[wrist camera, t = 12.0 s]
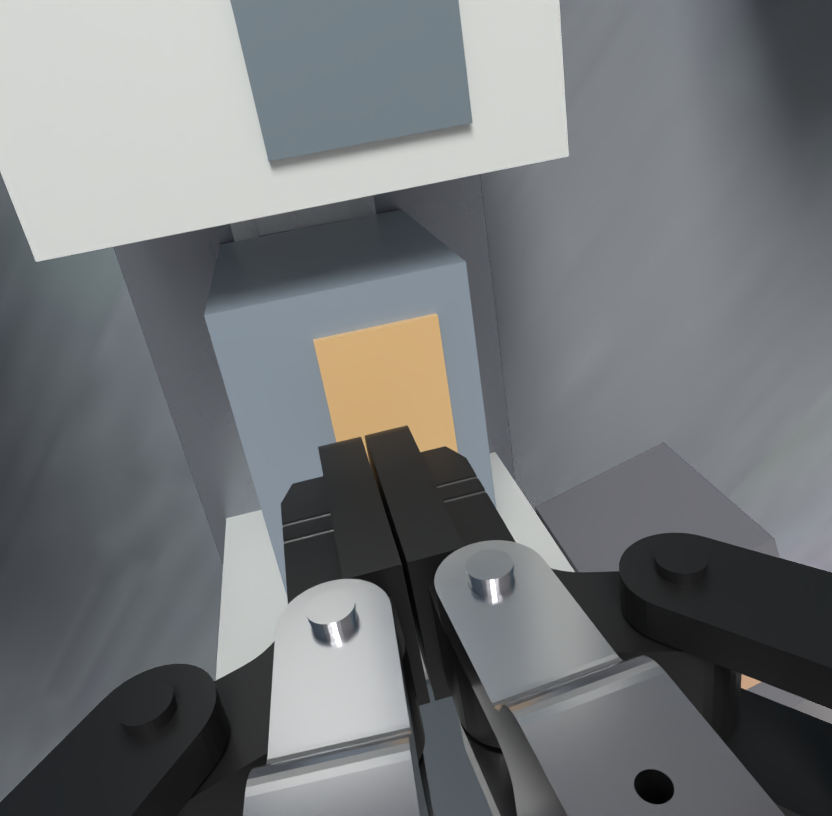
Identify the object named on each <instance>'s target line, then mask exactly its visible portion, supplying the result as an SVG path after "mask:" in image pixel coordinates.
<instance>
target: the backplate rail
mask: <svg viewBox="0 0 832 816" xmlns="http://www.w3.org/2000/svg"><path fill="white" fill-rule="evenodd" d="M400 209H402V210H403V211H404V212H406V213H407V214H408V215H409V216H411V217H412V218H413V219H414V220H415V221H417V222H418V223H419V224H420V225H422V226H423V227H424V228H425V229H426V230H428V231H429V232H430V233H431V234H433V235H434V236H435V237H436V238H438V239H439V240H440V241H441V242H442V243H444V244H445V245H446V246H447V247H449V248H450V249H451V250H452V251H453V252H455V253H456V254H457V255H458V256H460V257H461V258H462V259H463V260H465V261H466V267H467V275H468V283H469V291H470V299H471V307H472V315H473V323H474V331H475V339H476V348H477V356H478V364H479V372H480V380H481V388H482V396H483V404H484V412H485V420H486V429H487V437H488V445H489V453H493V452H496V454H497V455H498V457H499V458H500V460H501V461H502V463H503V464H504V466H505V467H506V469H507V470H508V472H509V473H510V475H511V476H512V478H513V479H514V481H515V476H514V467H513V458H512V450H511V441H510V432H509V423H508V415H507V406H506V397H505V389H504V380H503V371H502V362H501V354H500V345H499V336H498V327H497V319H496V310H495V301H494V293H493V284H492V275H491V266H490V258H489V249H488V240H487V232H486V223H485V214H484V205H483V197H482V188H481V179H480V174H477V175H472V176H467V177H462V178H457V179H452V180H447V181H442V182H437V183H432V184H427V185H422V186H417V187H412V188H407V189H402V190H397V191H391V192H386V193H381V194H376V195H371V196H366V197H361V198H356V199H351V200H346V201H341V202H336V203H331V204H326V205H321V206H316V207H311V208H306V209H301V210H296V211H291V212H285V213H280V214H275V215H270V216H265V217H260V218H255V219H250V220H245V221H240V222H235V223H230V224H225V225H220V226H215V227H210V228H205V229H200V230H195V231H190V232H185V233H179V234H174V235H169V236H164V237H159V238H154V239H149V240H144V241H139V242H134V243H129V244H124V245H119V246H114V250H115V253H116V256H117V259H118V261H119V264H120V267H121V270H122V273H123V276H124V279H125V282H126V285H127V287H128V290H129V293H130V296H131V299H132V302H133V305H134V308H135V311H136V314H137V316H138V319H139V322H140V325H141V328H142V331H143V334H144V337H145V340H146V343H147V345H148V348H149V351H150V354H151V357H152V360H153V363H154V366H155V369H156V372H157V374H158V377H159V380H160V383H161V386H162V389H163V392H164V395H165V398H166V400H167V403H168V406H169V409H170V412H171V415H172V418H173V421H174V424H175V427H176V429H177V432H178V435H179V438H180V441H181V444H182V447H183V450H184V453H185V456H186V458H187V461H188V464H189V467H190V470H191V473H192V476H193V479H194V482H195V485H196V487H197V490H198V493H199V496H200V499H201V502H202V505H203V508H204V511H205V513H206V516H207V519H208V522H209V525H210V528H211V531H212V534H213V537H214V540H215V542H216V545H217V548H218V551H219V554H220V557H221V560H222V563H223V562H224V546H225V531H226V518H230V517H234V516H238V515H242V514H246V513H250V512H254V511H258V510H261V507H260V503H259V500H258V497H257V493H256V490H255V486H254V483H253V480H252V476H251V473H250V469H249V466H248V463H247V459H246V456H245V453H244V449H243V446H242V442H241V439H240V436H239V432H238V429H237V425H236V422H235V419H234V415H233V412H232V409H231V405H230V402H229V398H228V395H227V392H226V388H225V385H224V381H223V378H222V375H221V371H220V368H219V364H218V361H217V358H216V354H215V351H214V348H213V344H212V341H211V337H210V334H209V331H208V327H207V324H206V320H205V317H204V314H205V309H206V305H207V300H208V296H209V291H210V286H211V282H212V277H213V273H214V268H215V264H216V259H217V255H218V250H219V246H220V245H221V244H226V243H231V242H236V241H241V240H246V239H251V238H256V237H262V236H267V235H272V234H277V233H282V232H287V231H292V230H297V229H303V228H308V227H313V226H318V225H323V224H328V223H333V222H339V221H344V220H349V219H354V218H359V217H364V216H369V215H374V214H380V213H385V212H390V211H395V210H400Z"/></svg>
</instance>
